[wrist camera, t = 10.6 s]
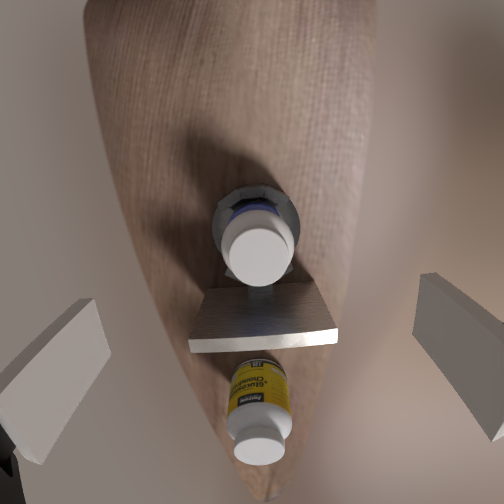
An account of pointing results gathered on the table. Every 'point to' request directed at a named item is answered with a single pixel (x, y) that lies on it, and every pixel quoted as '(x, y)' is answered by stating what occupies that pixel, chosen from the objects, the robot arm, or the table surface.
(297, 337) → the cup bracket
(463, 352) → the robot arm
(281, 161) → the table surface
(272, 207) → the pill bottle
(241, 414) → the pill bottle
